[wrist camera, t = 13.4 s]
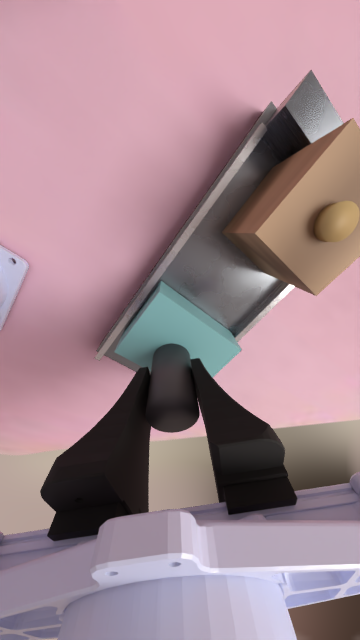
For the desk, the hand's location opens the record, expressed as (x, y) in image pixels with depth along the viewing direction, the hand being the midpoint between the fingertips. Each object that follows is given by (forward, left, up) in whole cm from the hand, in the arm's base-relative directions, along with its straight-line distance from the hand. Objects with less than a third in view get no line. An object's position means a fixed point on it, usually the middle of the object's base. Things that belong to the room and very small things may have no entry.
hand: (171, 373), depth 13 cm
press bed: (0, +6, -6) cm, 8 cm away
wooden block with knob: (0, +12, -5) cm, 13 cm away
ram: (0, +1, -5) cm, 5 cm away
